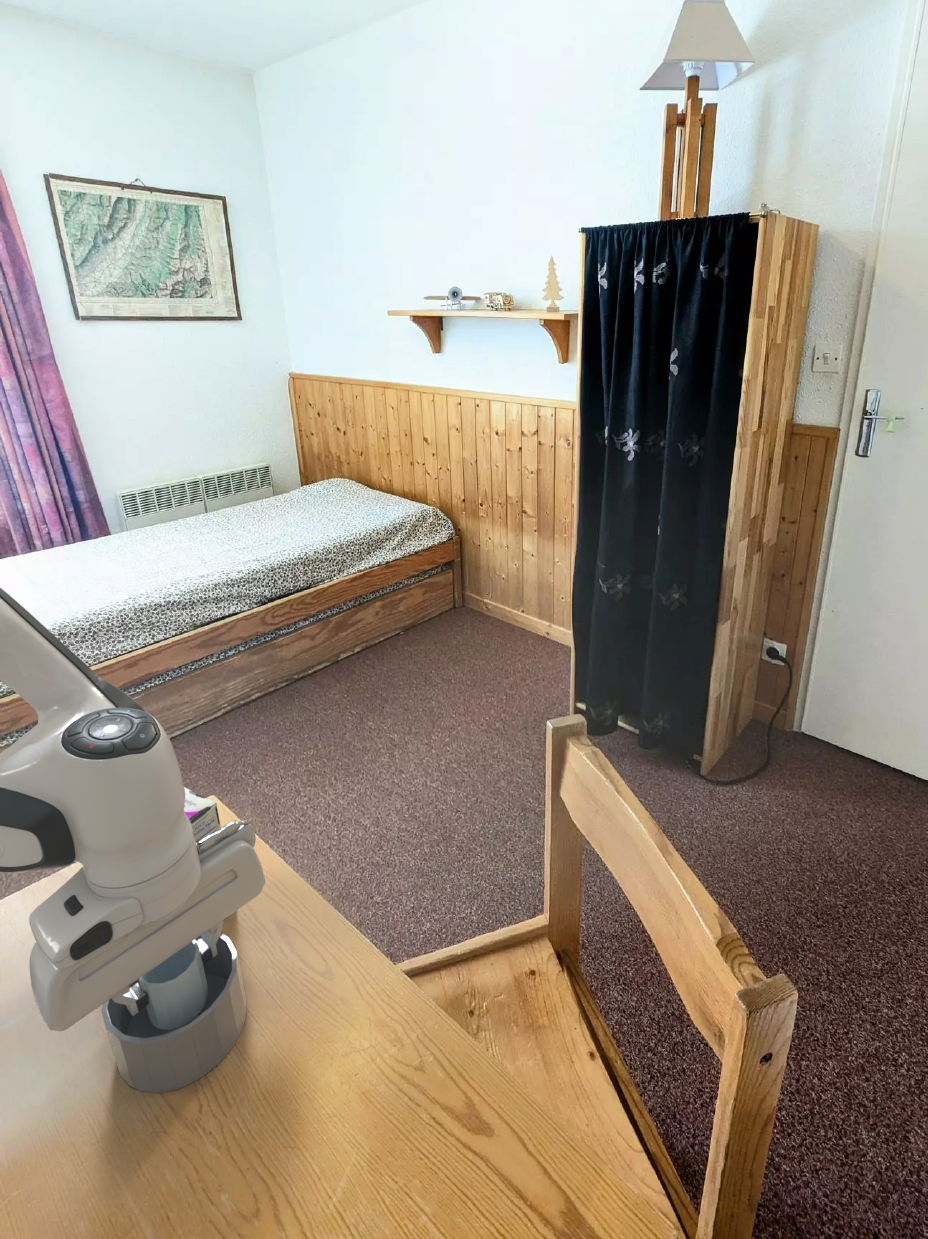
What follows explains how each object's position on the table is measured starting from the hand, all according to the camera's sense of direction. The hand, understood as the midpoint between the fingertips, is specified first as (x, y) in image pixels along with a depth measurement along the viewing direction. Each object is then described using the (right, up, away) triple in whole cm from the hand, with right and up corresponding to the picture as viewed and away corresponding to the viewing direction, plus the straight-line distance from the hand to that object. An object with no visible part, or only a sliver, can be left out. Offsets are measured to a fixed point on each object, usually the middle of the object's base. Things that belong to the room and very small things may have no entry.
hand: (173, 981), depth 67 cm
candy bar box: (-6, -1, +17) cm, 18 cm away
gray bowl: (0, -6, +2) cm, 7 cm away
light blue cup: (0, -3, +1) cm, 3 cm away
